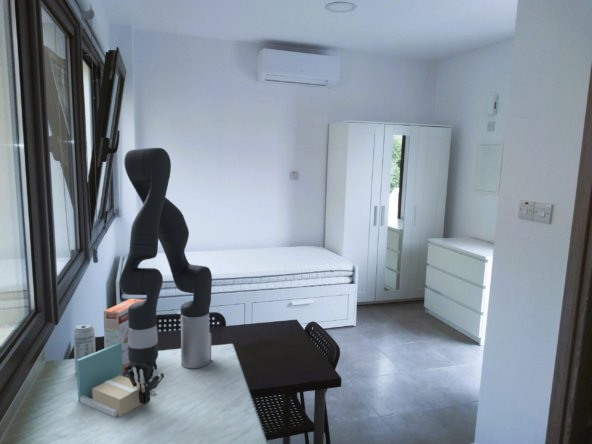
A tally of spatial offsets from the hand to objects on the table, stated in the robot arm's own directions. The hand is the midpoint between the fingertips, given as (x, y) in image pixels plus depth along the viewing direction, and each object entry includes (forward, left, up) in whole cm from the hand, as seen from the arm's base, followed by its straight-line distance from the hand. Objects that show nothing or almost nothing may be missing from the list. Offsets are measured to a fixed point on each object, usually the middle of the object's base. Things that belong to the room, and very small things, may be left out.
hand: (144, 402), depth 117 cm
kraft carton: (+2, -8, -2) cm, 8 cm away
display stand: (0, -10, -2) cm, 10 cm away
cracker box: (-14, -24, -2) cm, 28 cm away
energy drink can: (-5, -32, -2) cm, 33 cm away
